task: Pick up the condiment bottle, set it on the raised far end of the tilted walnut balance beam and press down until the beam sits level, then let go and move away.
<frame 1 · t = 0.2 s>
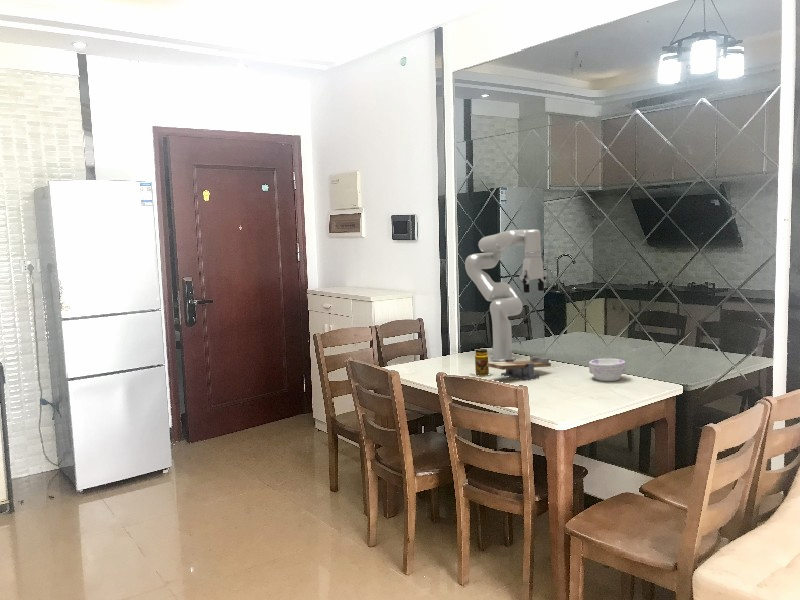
hand: (533, 291, 311), 36 cm above the table, tool pointing down, fingers open, 9 cm apart
beam: (519, 362, 294), point 6 cm above the table, hinge at -6.0°
stand: (519, 376, 295), on the table
condiment: (481, 375, 303), on the table
lavender white bowl: (607, 379, 283), on the table
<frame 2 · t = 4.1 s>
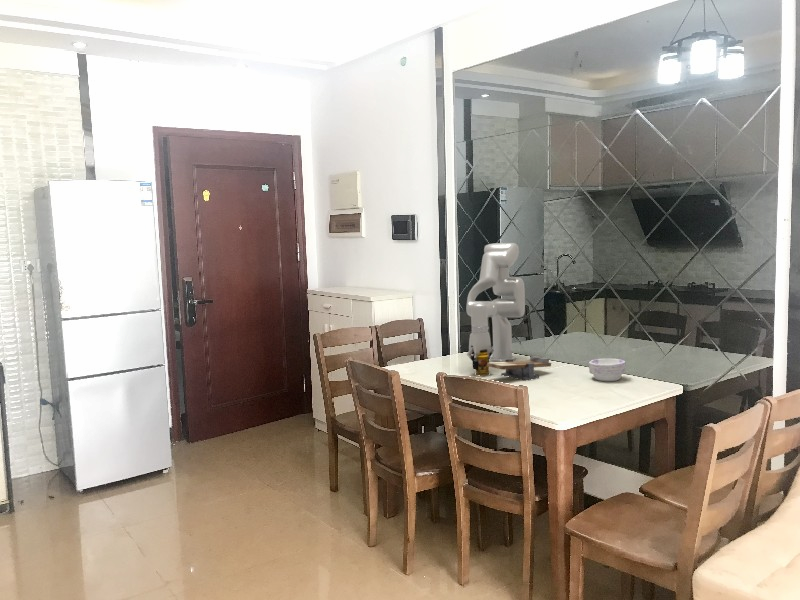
hand: (481, 367, 303), 3 cm above the table, tool pointing down, fingers closed on condiment, 6 cm apart
condiment: (481, 374, 303), on the table, touching gripper
everything else where it was.
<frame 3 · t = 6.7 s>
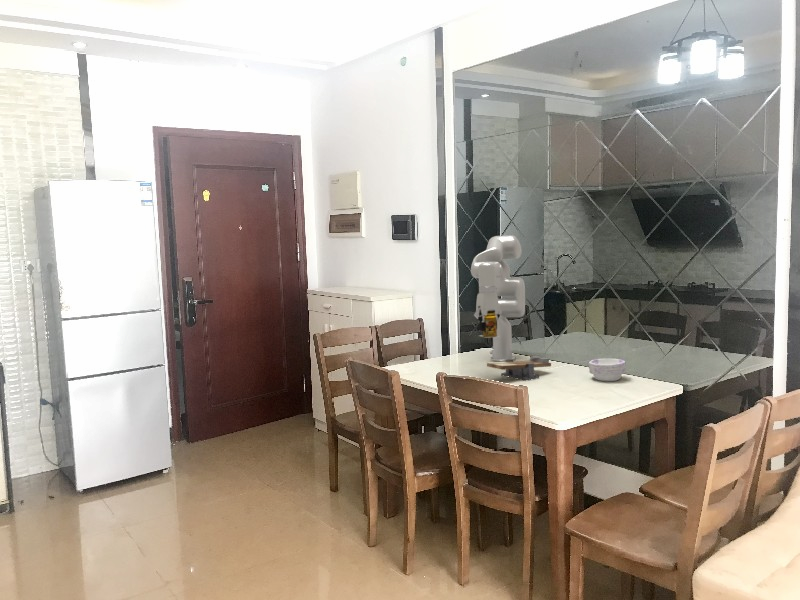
hand: (488, 329, 295), 22 cm above the table, tool pointing down, fingers closed on condiment, 6 cm apart
condiment: (489, 336, 295), point 19 cm above the table, touching gripper
everything else where it was.
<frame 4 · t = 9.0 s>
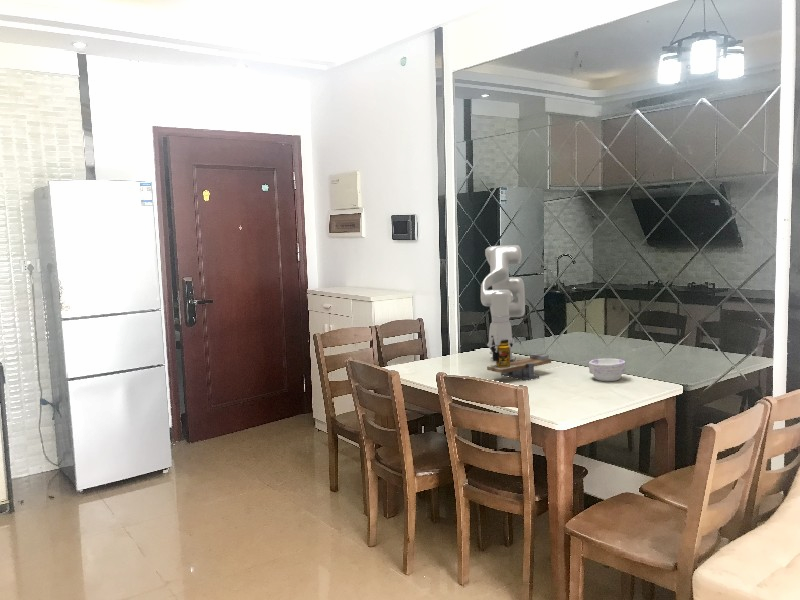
hand: (501, 359, 288), 10 cm above the table, tool pointing down, fingers closed on condiment, 6 cm apart
beam: (519, 362, 294), point 6 cm above the table, hinge at 0.2°, touching condiment
condiment: (502, 366, 289), point 6 cm above the table, touching beam, gripper
everything else where it was.
when the fingers open (10 cm above the table, at t = 9.2 s): condiment stays where it is, resting on beam.
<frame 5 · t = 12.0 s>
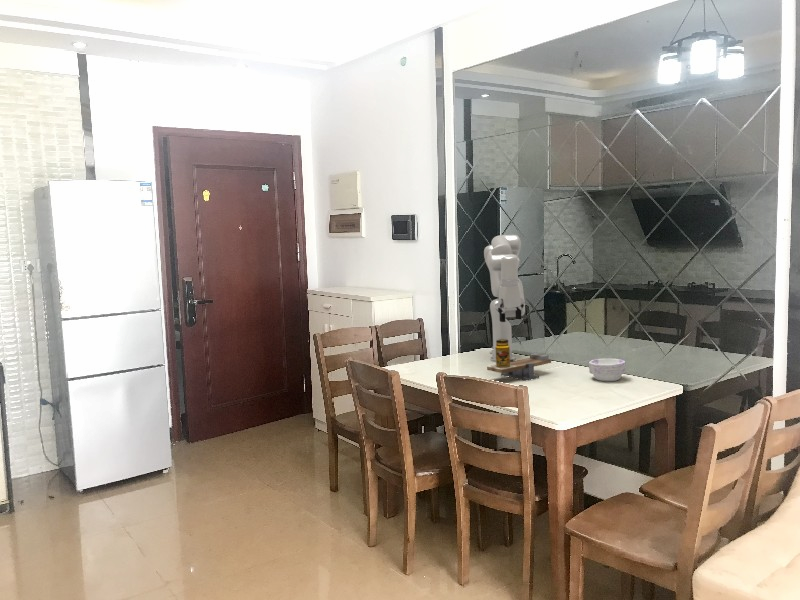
hand: (510, 320, 298), 25 cm above the table, tool pointing down, fingers open, 9 cm apart
condiment: (502, 366, 289), point 6 cm above the table, touching beam
everything else where it was.
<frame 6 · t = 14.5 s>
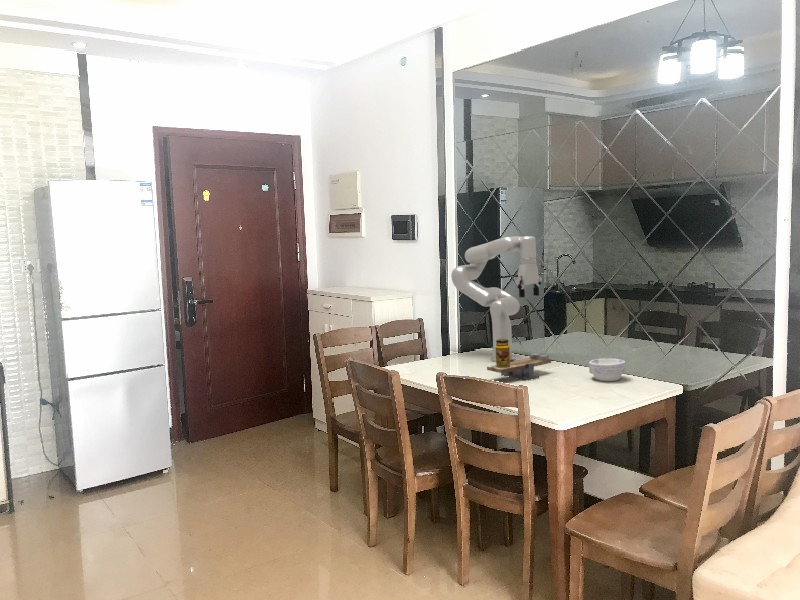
hand: (529, 296, 320), 33 cm above the table, tool pointing down, fingers open, 9 cm apart
nothing on the table moved.
at the end: beam at +0° (first picture: -6°); condiment touching beam; condiment tilted 0° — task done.
